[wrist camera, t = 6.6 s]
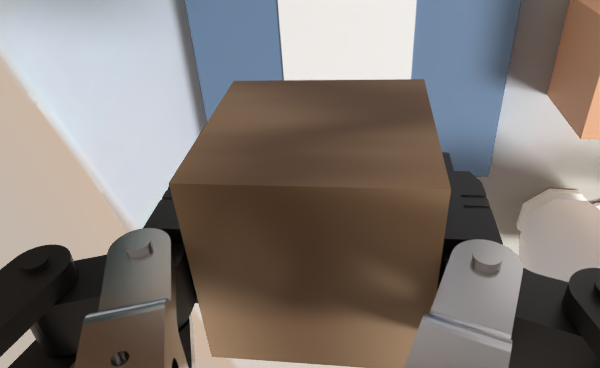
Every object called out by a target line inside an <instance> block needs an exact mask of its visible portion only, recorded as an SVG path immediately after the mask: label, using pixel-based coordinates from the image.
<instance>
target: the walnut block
mask: <svg viewBox="0 0 600 368" xmlns="http://www.w3.org/2000/svg"><path fill="white" fill-rule="evenodd" d="M169 186H170V190H171V194H172V198H173V202H174V206H175V210H176V214H177V218H178V222H179V227H180V231H181V235H182V239H183V243H184V247H185V251H186V255H187V259H188V263H189V267H190V271H191V275H192V279H193V283H194V287H195V291H196V295H197V299H198V303H199V307H200V311H201V315H202V319H203V323H204V327H205V331H206V334H207V339H208V342H209V347H210V351H211V354H212V357H224V358H238V359H252V360H266V361H280V362H294V363H308V364H322V365H336V366H350V367H364V368H404V366H405V363H406V360H407V358H408V355H409V352H410V350H411V347H412V344H413V342H414V339H415V336H416V334H417V331H418V328H419V326H420V323H421V320H422V318H423V316H424V314H425V313H426V312H427V313H430V311H431V308H432V305H433V302H434V300H435V297H436V292H437V285H438V278H439V271H440V264H441V257H442V250H443V243H444V236H445V229H446V222H447V215H448V208H449V201H450V194H451V187H450V183H449V179H448V175H447V171H446V167H445V163H444V158H443V154H442V150H441V146H440V142H439V138H438V134H437V130H436V126H435V122H434V118H433V114H432V110H431V105H430V101H429V97H428V93H427V89H426V85H425V81H424V79H393V80H268V81H233V82H232V84H231V86H230V87H229V89H228V90H227V92H226V94H225V95H224V97H223V98H222V100H221V101H220V103H219V105H218V106H217V108H216V109H215V111H214V113H213V114H212V116H211V117H210V119H209V120H208V122H207V124H206V125H205V127H204V128H203V130H202V132H201V133H200V135H199V136H198V138H197V139H196V141H195V143H194V144H193V146H192V147H191V149H190V151H189V152H188V154H187V155H186V157H185V158H184V160H183V162H182V163H181V165H180V166H179V168H178V170H177V171H176V173H175V174H174V176H173V177H172V179H171V181H170V182H169Z"/></svg>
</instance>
